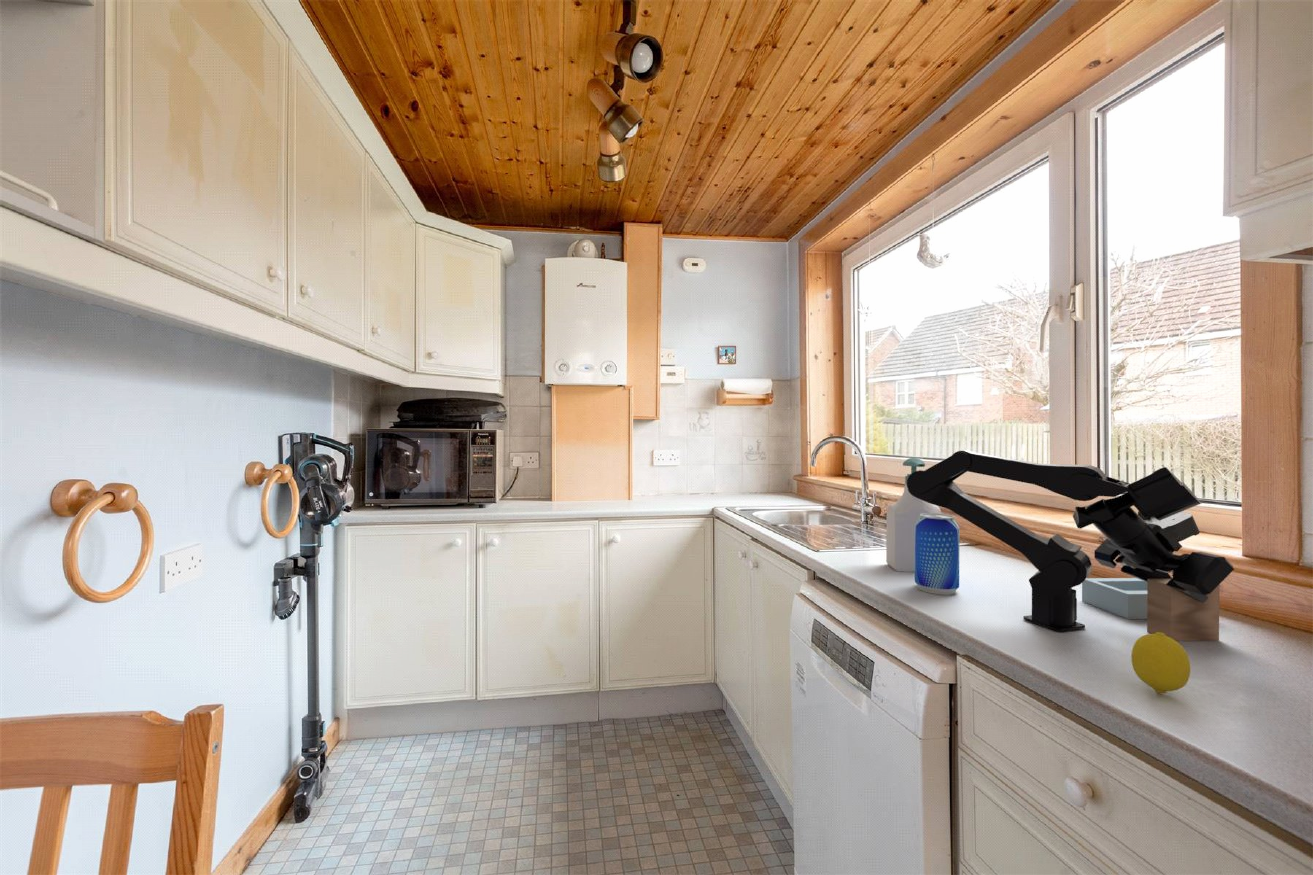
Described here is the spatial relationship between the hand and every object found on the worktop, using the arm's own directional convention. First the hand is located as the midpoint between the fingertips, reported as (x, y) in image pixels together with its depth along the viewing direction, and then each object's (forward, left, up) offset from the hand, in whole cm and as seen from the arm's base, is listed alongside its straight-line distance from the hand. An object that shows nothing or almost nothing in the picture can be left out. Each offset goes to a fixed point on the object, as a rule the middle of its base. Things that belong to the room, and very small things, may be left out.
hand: (1190, 595), depth 87 cm
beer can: (-20, +32, -7) cm, 39 cm away
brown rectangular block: (-1, 0, -7) cm, 7 cm away
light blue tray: (+7, +11, -7) cm, 15 cm away
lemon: (-27, -12, -7) cm, 31 cm away
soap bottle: (-12, +47, -7) cm, 49 cm away
